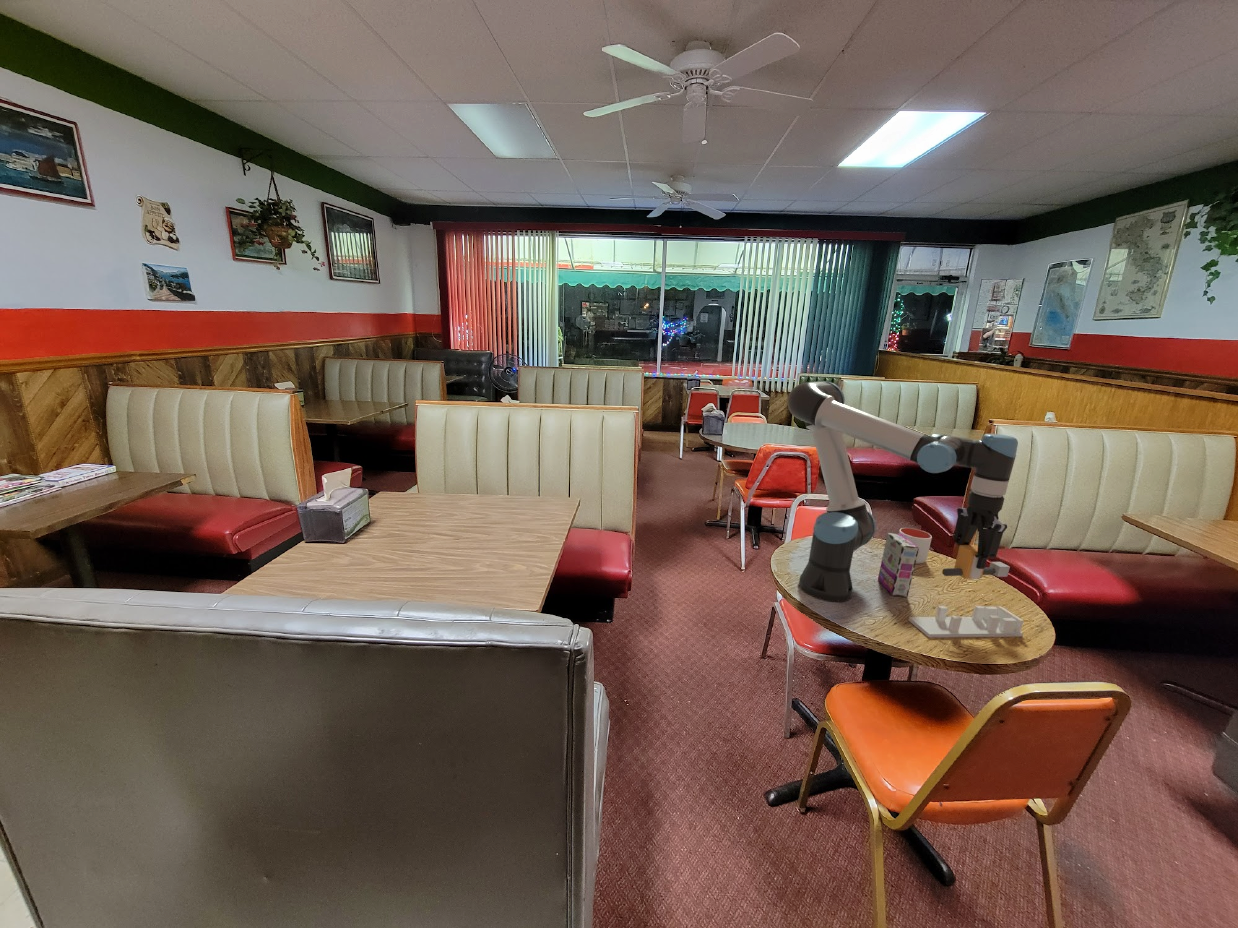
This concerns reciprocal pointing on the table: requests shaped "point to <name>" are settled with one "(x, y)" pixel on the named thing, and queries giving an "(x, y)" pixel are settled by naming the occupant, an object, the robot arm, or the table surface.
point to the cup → (918, 542)
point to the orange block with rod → (965, 563)
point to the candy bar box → (898, 564)
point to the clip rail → (971, 623)
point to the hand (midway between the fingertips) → (967, 573)
